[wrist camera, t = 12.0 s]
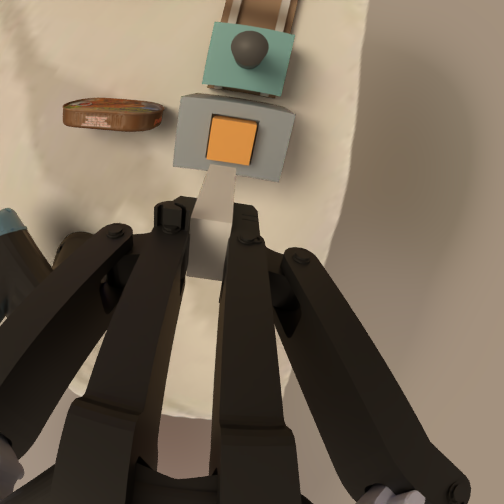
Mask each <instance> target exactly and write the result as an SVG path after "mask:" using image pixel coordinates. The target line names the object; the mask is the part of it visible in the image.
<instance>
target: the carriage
mask: <svg viewBox="0 0 504 504" xmlns="http://www.w3.org/2000/svg"><path fill="white" fill-rule="evenodd" d="M294 38H295V35H292V34H288V33H284V32H279V31H275V30H270V29H265V28H259V27H253V26H247V25H240V24H232V23H223V22H215V23H214V27H213V32H212V36H211V41H210V46H209V50H208V55H207V60H206V65H205V70H204V76H203V81H202V84H208V85H216V86H224V87H232V88H238V89H245V90H250V91H256V92H261V93H267V94H272V95H276V96H281V94H282V90H283V85H284V81H285V77H286V72H287V68H288V64H289V59H290V55H291V51H292V46H293V42H294Z"/></svg>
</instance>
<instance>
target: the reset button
mask: <svg viewBox="0 0 504 504" xmlns="http://www.w3.org/2000/svg"><path fill="white" fill-rule="evenodd" d="M256 128H257V123H256V121H252V120H246V119H240V118H234V117H227V116H220V115H215V116H214V117H213V119H212V126H211V132H210V138H209V145H208V152H207V159H208V160H216V161H223V162H229V163H236V164H242V165H248V166H249V162H250V157H251V152H252V147H253V142H254V137H255V133H256Z"/></svg>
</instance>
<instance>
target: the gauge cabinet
mask: <svg viewBox="0 0 504 504" xmlns="http://www.w3.org/2000/svg"><path fill="white" fill-rule="evenodd" d="M215 115H220V116H227V117H234V118H240V119H246V120H252V121H256V123H257V128H256V133H255V137H254V142H253V147H252V152H251V157H250V162H249V166H248V165H242V164H236V163H229V162H223V161H216V160H208V159H207V152H208V145H209V138H210V132H211V126H212V119H213V117H214V116H215ZM295 115H296V114H294V113H292V112H291V111H289V110H288V109H286V108H284V107H282V106H277V105H272V104H268V103H262V102H257V101H252V100H246V99H240V98H233V97H226V96H219V95H210V94H201V93H195V94H190V95H185V96H181V100H180V107H179V115H178V122H177V131H176V139H175V149H174V159H173V167H181V168H189V169H197V170H205V171H208V168H209V166H210V164H214V165H221V166H227V167H234V168H236V175H239V176H245V177H251V178H257V179H262V180H268V181H274V182H279V180H280V176H281V172H282V168H283V164H284V160H285V156H286V152H287V148H288V144H289V140H290V136H291V132H292V128H293V124H294V119H295Z"/></svg>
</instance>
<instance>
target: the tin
mask: <svg viewBox="0 0 504 504" xmlns="http://www.w3.org/2000/svg"><path fill="white" fill-rule="evenodd" d="M163 110H164V107H163V106H162V105H160V104H157V103H153V102H147V101H138V100H127V99H113V98H88V99H81V100H76V101H72V102H69V103H66V104H64V105H63V123H64V124H65V125H66V126H70V127H78V128H90V129H102V130H114V131H125V132H136V131H146V130H151V129H153V128H155V127H157V126H158V125H160V123H161V120H162V114H163Z"/></svg>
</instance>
